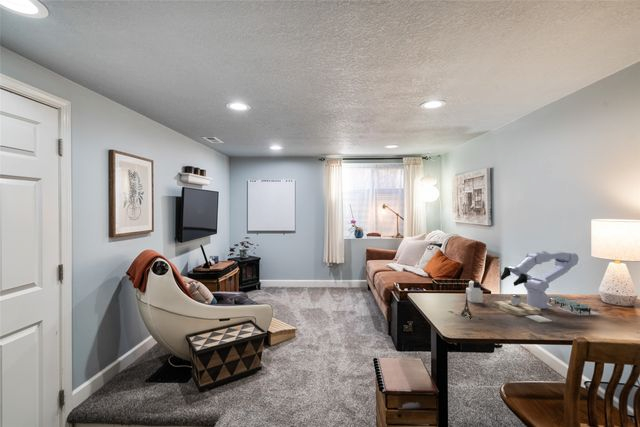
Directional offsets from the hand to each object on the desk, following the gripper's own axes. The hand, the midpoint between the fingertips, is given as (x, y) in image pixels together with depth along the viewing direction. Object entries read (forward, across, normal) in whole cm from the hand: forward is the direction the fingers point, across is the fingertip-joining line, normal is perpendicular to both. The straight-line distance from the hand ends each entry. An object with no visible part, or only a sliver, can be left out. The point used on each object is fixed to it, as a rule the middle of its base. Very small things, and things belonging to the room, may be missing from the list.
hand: (507, 281), depth 168 cm
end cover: (+5, +6, +14) cm, 16 cm away
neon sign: (-29, +17, +36) cm, 49 cm away
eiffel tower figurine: (+34, +2, -3) cm, 34 cm away
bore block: (+5, +6, +14) cm, 16 cm away
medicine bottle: (+14, -14, +14) cm, 24 cm away
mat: (+6, +19, +10) cm, 22 cm away
